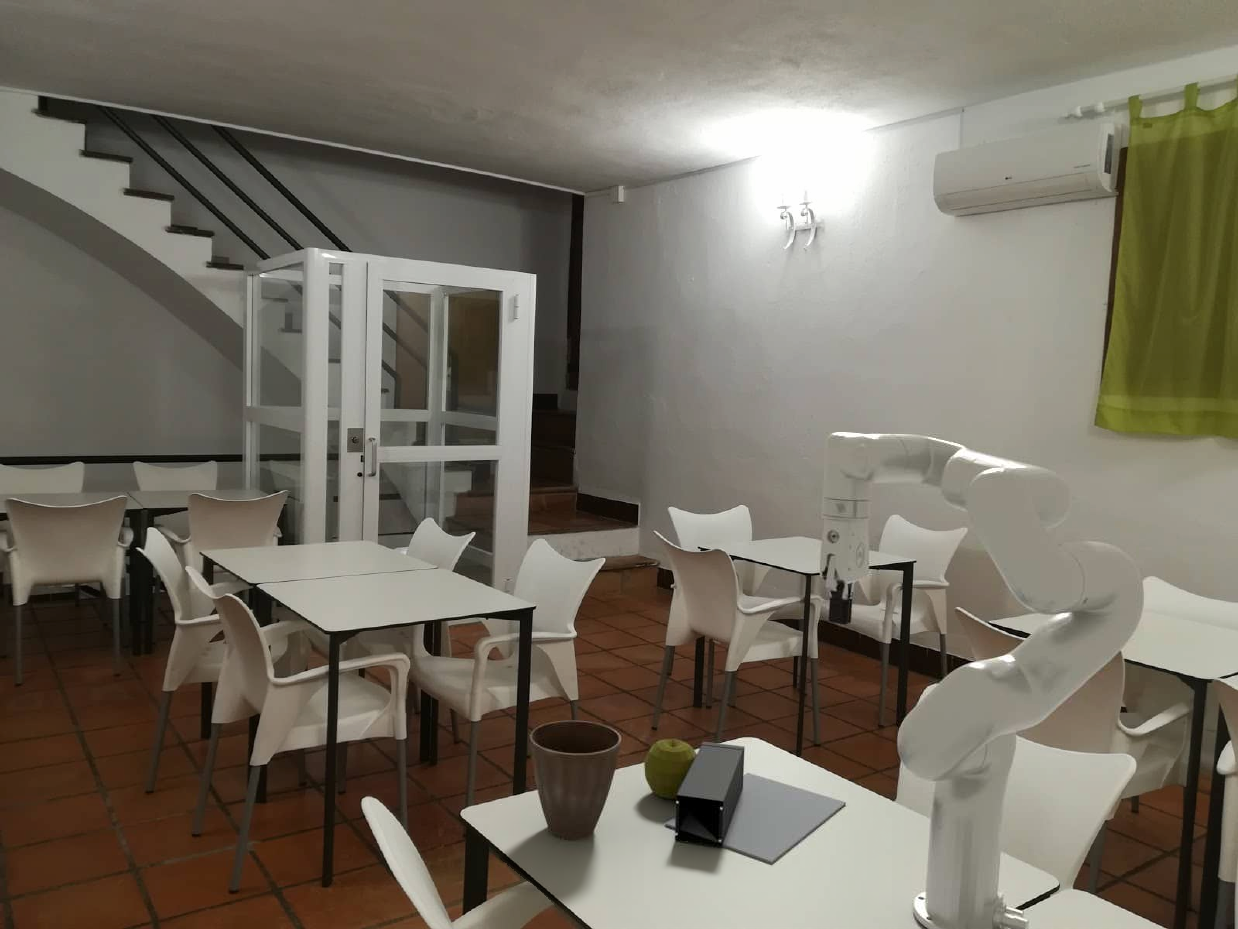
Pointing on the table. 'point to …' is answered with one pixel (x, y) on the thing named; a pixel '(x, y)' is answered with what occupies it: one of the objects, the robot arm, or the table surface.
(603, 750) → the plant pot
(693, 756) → the apple
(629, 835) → the table surface
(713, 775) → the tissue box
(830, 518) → the robot arm
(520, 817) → the table surface
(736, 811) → the mat
